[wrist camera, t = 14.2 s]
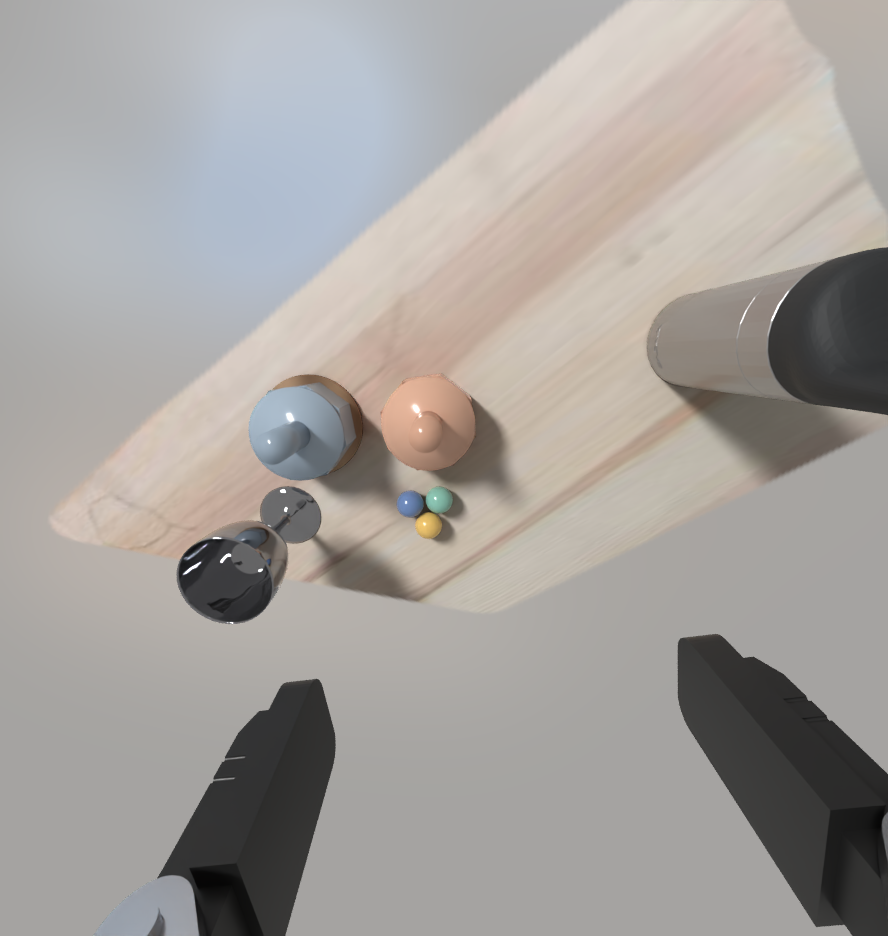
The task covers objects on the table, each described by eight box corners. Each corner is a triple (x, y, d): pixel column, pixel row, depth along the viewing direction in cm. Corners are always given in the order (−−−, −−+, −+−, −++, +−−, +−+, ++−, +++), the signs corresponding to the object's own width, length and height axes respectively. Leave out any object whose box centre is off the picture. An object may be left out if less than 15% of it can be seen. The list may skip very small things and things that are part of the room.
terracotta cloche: (466, 368, 45) (472, 373, 34) (477, 452, 47) (485, 481, 36) (381, 381, 45) (360, 389, 34) (396, 463, 47) (381, 495, 37)
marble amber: (440, 506, 49) (439, 516, 46) (443, 530, 50) (443, 541, 47) (414, 510, 49) (412, 520, 46) (418, 533, 50) (416, 544, 47)
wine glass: (312, 555, 51) (258, 636, 36) (248, 532, 50) (167, 605, 35) (333, 497, 49) (284, 558, 34) (266, 472, 48) (188, 524, 33)
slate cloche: (345, 377, 44) (312, 385, 34) (361, 461, 47) (336, 492, 36) (260, 390, 45) (201, 401, 34) (281, 472, 47) (232, 507, 37)
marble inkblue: (422, 485, 48) (420, 493, 45) (426, 509, 49) (424, 519, 46) (396, 489, 48) (392, 497, 45) (400, 513, 49) (397, 523, 46)
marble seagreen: (450, 481, 48) (450, 489, 45) (454, 506, 49) (454, 515, 46) (424, 485, 48) (423, 493, 45) (428, 509, 49) (427, 519, 46)
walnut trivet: (351, 367, 45) (350, 367, 44) (371, 466, 48) (370, 467, 47) (251, 382, 45) (249, 383, 45) (276, 479, 48) (274, 481, 48)
